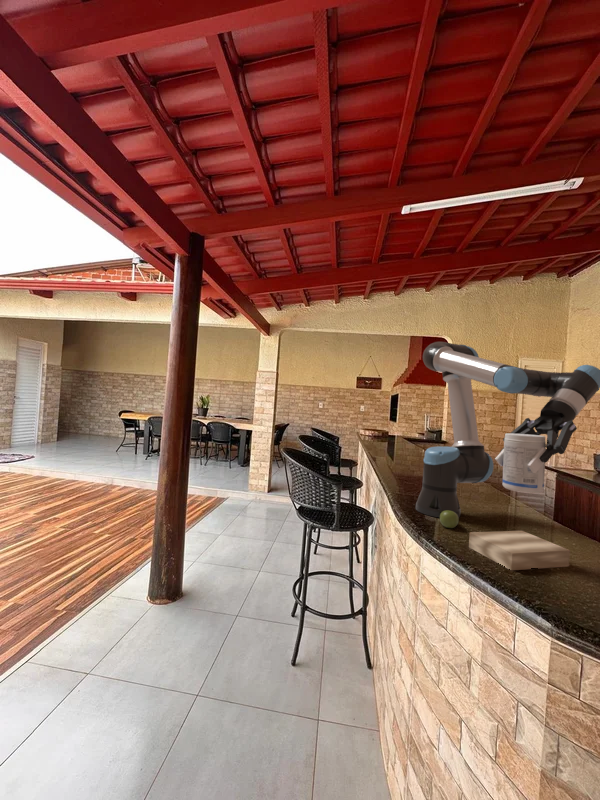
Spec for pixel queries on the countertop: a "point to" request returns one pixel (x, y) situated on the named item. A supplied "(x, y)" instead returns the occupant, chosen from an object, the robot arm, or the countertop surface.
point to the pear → (449, 519)
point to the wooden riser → (519, 550)
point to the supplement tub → (522, 463)
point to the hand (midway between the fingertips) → (514, 465)
